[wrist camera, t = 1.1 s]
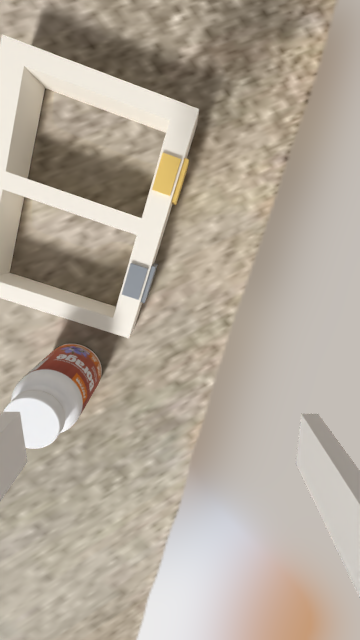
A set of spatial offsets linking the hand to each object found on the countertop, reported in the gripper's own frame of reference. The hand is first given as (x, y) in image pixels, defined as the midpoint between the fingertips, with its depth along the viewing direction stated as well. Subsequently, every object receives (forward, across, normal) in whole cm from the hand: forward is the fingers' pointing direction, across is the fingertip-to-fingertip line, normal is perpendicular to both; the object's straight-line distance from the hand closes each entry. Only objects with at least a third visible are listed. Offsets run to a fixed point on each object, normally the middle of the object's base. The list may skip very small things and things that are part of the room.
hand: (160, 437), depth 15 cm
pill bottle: (+20, -11, -5) cm, 24 cm away
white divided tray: (+20, -9, +12) cm, 25 cm away
